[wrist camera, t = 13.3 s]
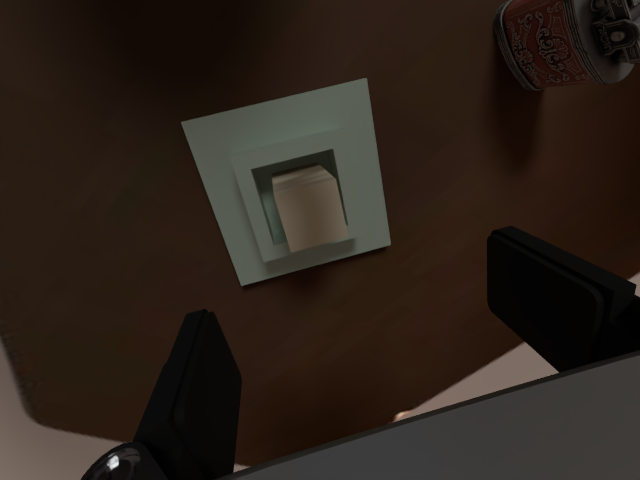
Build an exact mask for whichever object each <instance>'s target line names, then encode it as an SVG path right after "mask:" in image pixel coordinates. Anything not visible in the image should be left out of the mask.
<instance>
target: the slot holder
mask: <svg viewBox="0 0 640 480" xmlns="http://www.w3.org/2000/svg"><path fill="white" fill-rule="evenodd" d="M181 124H182V127H183V130H184V132H185V135H186V138H187V140H188V143H189V146H190V149H191V151H192V154H193V157H194V159H195V162H196V165H197V167H198V170H199V173H200V176H201V178H202V181H203V184H204V186H205V189H206V192H207V194H208V197H209V200H210V203H211V205H212V208H213V211H214V213H215V216H216V219H217V221H218V224H219V227H220V230H221V232H222V235H223V238H224V240H225V243H226V246H227V249H228V251H229V254H230V257H231V259H232V262H233V265H234V267H235V270H236V273H237V276H238V278H239V281H240V284H241V286H243V285H247V284H250V283H254V282H258V281H261V280H265V279H269V278H272V277H276V276H279V275H283V274H287V273H290V272H294V271H298V270H301V269H305V268H308V267H312V266H316V265H319V264H323V263H327V262H330V261H334V260H338V259H341V258H345V257H348V256H352V255H356V254H359V253H363V252H367V251H370V250H374V249H378V248H381V247H385V246H388V245H391V242H390V235H389V228H388V221H387V214H386V207H385V201H384V194H383V187H382V180H381V173H380V166H379V159H378V153H377V146H376V139H375V132H374V125H373V118H372V111H371V104H370V98H369V91H368V84H367V78H364V79H360V80H356V81H352V82H347V83H343V84H339V85H335V86H331V87H326V88H322V89H318V90H314V91H310V92H305V93H301V94H297V95H293V96H289V97H284V98H280V99H276V100H272V101H268V102H263V103H259V104H255V105H251V106H247V107H242V108H238V109H234V110H230V111H225V112H221V113H217V114H213V115H209V116H204V117H200V118H196V119H192V120H188V121H183V122H181ZM315 162H317V163H319V164H320V165H321V166H322V167H323V168H324V169H325V170H326V171H327V172H329V173H330V174H331V175H332V176H333V177H334V178H335V179H336V182H337V186H338V191H339V196H340V200H341V205H342V209H343V214H344V219H345V223H346V228H347V233H348V237H345V238H341V239H338V240H334V241H331V242H327V243H324V244H320V245H317V246H313V247H310V248H306V249H303V250H299V251H296V252H292V253H291V251H290V248H289V244H288V241H287V238H286V234H285V231H284V228H283V224H282V221H281V218H280V214H279V211H278V208H277V204H276V201H275V198H274V192H273V183H272V175H271V174H274V173H277V172H281V171H285V170H289V169H292V168H296V167H300V166H304V165H307V164H311V163H315Z"/></svg>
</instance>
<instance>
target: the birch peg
mask: <svg viewBox="0 0 640 480" xmlns="http://www.w3.org/2000/svg"><path fill="white" fill-rule="evenodd" d="M271 175H272V183H273V192H274V198H275V201H276V204H277V208H278V211H279V214H280V218H281V221H282V224H283V228H284V231H285V234H286V238H287V241H288V244H289V248H290V251H291V253H292V252H296V251H299V250H303V249H306V248H310V247H313V246H317V245H320V244H324V243H327V242H331V241H334V240H338V239H341V238H345V237H348V233H347V228H346V223H345V219H344V214H343V209H342V205H341V200H340V196H339V191H338V186H337V182H336V179H335V178H334V177H333V176H332V175H331V174H330V173H329V172H327V171H326V170H325V169H324V168H323V167H322V166H321V165H320V164H319V163H317V162H315V163H311V164H307V165H304V166H300V167H296V168H292V169H289V170H285V171H281V172H277V173H274V174H271Z"/></svg>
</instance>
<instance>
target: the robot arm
mask: <svg viewBox="0 0 640 480" xmlns="http://www.w3.org/2000/svg"><path fill="white" fill-rule="evenodd" d="M635 289H636V284H634V283H632V282H630V281H628V280H625V279H623V278H621V277H619V276H617V275H615V274H613V273H611V272H608V271H606V270H604V269H602V268H600V267H598V266H596V265H594V264H592V263H589V262H587V261H585V260H583V259H581V258H579V257H577V256H575V255H573V254H570V253H568V252H566V251H564V250H562V249H560V248H558V247H556V246H554V245H551V244H549V243H547V242H545V241H543V240H541V239H539V238H537V237H535V236H532V235H530V234H528V233H526V232H524V231H522V230H520V229H518V228H515V227H513V226H508V227H504V228H501V229H497V230H494V231H492V233H491V236H489V237H488V238H487V301H488V306H489V308H490V310H491V311H492V312H493V313H494V314H495V315H496V316H497V317H498V318H499V319H500V320H502V321H503V322H504V323H505V324H506V325H507V326H508V327H509V328H510V329H512V330H513V331H514V332H515V333H516V334H517V335H518V336H519V337H521V338H522V339H523V340H524V341H525V342H526V343H527V344H528V345H530V346H531V347H532V348H533V349H534V350H535V351H536V352H537V353H538V354H539V355H541V356H542V357H543V358H544V359H545V360H546V361H547V362H548V363H550V364H551V365H552V366H553V367H554V368H555V369H556V370H557V371H558V372H559V373H557V374H554V375H550V376H547V377H544V378H540V379H537V380H534V381H530V382H527V383H523V384H520V385H517V386H513V387H510V388H506V389H503V390H499V391H496V392H493V393H489V394H486V395H483V396H479V397H476V398H473V399H470V400H466V401H463V402H459V403H456V404H453V405H450V406H446V407H443V408H440V409H436V410H433V411H430V412H426V413H423V414H420V415H416V416H413V417H410V418H406V419H403V420H400V421H396V422H393V423H390V424H387V425H383V426H380V427H377V428H374V429H370V430H367V431H364V432H361V433H357V434H354V435H351V436H347V437H344V438H341V439H338V440H334V441H331V442H328V443H325V444H321V445H318V446H315V447H312V448H308V449H305V450H302V451H299V452H295V453H292V454H289V455H286V456H283V457H280V458H277V459H274V460H271V461H268V462H265V463H262V464H259V465H255V466H252V467H249V468H246V469H243V470H241V471H237V472H234V473H233V470H234V460H235V450H236V439H237V428H238V418H239V407H240V397H241V386H242V379H241V374H240V371H239V369H238V367H237V364H236V362H235V360H234V357H233V355H232V353H231V350H230V348H229V346H228V343H227V341H226V339H225V336H224V334H223V332H222V329H221V327H220V325H219V323H218V320H217V318H216V316H215V314H214V312H208V311H207V310H206V309H202V310H199V311H195V312H191V313H188V314H186V316H185V318H184V321H183V323H182V326H181V328H180V331H179V333H178V336H177V338H176V341H175V343H174V346H173V348H172V351H171V353H170V356H169V358H168V361H167V363H165V365H164V366H163V368H162V371H161V373H160V376H159V378H158V381H157V383H156V385H155V388H154V390H153V393H152V395H151V398H150V400H149V403H148V405H147V408H146V410H145V412H144V415H143V417H142V420H141V422H140V425H139V427H138V430H137V432H136V435H135V437H134V439H133V441H132V442H127V443H123V444H121V445H119V446H117V447H114V448H113V449H111V450H110V451H108V452H107V453H105V454H104V455H102V456H101V457H100V458H99V459H98V460H97V461H96V462H95V463H94V464H92V465H91V467H90V468H89V469H88V470H87V472H86V473H85V474H84V475H83V476H82V478H81V480H640V297H638V296H636V295H634V294H635Z"/></svg>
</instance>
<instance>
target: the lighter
mask: <svg viewBox="0 0 640 480" xmlns="http://www.w3.org/2000/svg"><path fill="white" fill-rule="evenodd" d="M494 28H495V32H496V35H497V39H498V43H499V46H500V48H501V51H502V53H503V56H504V58H505V60H506V63H507V64H508V66H509V68H510V69H511V71H512V73H513V74H514V76H515V77H516V79H517V80H518V81H519V82H520V83H521V85H522V86H523V87H524V88H525V89H526V90H528V91H537V90H542V89H544V88H546V87H555V86H565V85H575V84H585V83H595V82H596V83H597V84H613V83H616V82H619V81H621V80H622V79H624V78H625V77H626V76H627V75H628V74H629V73H630V71H631V70H632V68H633V67H634V64H636V63H640V0H508V1H506V2H505V3H503V4H502V5H501V6H500V7H499V9H498V10H497V12H496V14H495V17H494Z"/></svg>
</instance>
